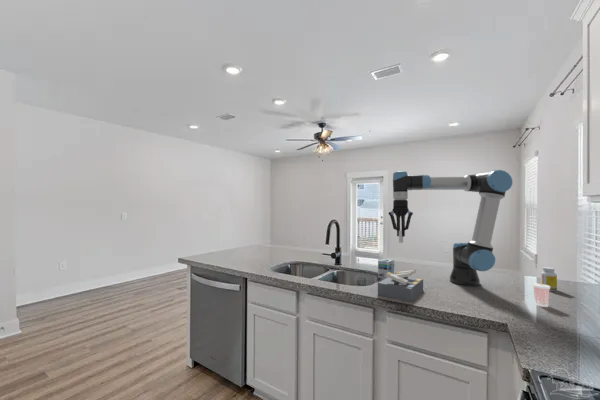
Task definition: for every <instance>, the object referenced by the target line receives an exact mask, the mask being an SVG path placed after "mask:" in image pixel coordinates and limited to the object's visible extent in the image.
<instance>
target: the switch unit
mask: <svg viewBox="0 0 600 400" xmlns="http://www.w3.org/2000/svg"><path fill="white" fill-rule="evenodd" d="M401 278H403V279H406V280H408V283H407V284H406V285H404V284H402V283H400V282H398V281H395V280H393V279H391V278H389V277H387V278H386V279H382V280H380V281H378V283H377V295H378V296H381V297H384V298H386V297H387V298H391V299H395V300H400V301H405V302H410V303H411V302H412V301H414V300H415V299H416V298H417V297H418V296H419V295H420V294H421V293H422V292H423V291H424V279H423V278H419V277H413V276H408V277H401Z"/></svg>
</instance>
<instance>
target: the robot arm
mask: <svg viewBox="0 0 600 400" xmlns="http://www.w3.org/2000/svg"><path fill="white" fill-rule="evenodd" d="M512 186H513V178H512V176H511V175H510V173H508V172H507V171H506V170H502V169H492V170H490V171H484V172H480V173H476V174H466V175H464V176H430V175H428V174H413V175H412V174H408V171H395V172H393V173H392V188H393V189H392V190H393V192H392V194H393V195H392V197H393V198H392V199H393V201H392V202H393V208H392V210H391V211H389V212H388V215H389V217H390V219H391V224H392V229H393V230H395V231H396V236H397V237H398V243H399V244H402V243H404V237H405V236H406V231H407V230H409V226H410V223H411V219H412V216H413V215H414V212H412V211H410V210H409V205H408V203H409V201H408V198H409V197H408V196H409V195H408V194H409V193H408V191H419V190H420V191H421V190H422V191H423V190H424V191H427V190H428V191H432V190H433V191H438V190H439V191H440V190H441V191H445V190H447V191H451V190H453V191H454V190H455V191H456V190H457V191H459V190H461V191H464V192H472V193H478V195H479V196H480V202H479V207H478V210H477V211H478V212H477V215H476V220H475V225H474V228H473V229H474V230H473V234H472V238H471V239H470V240H469V241H468V242H455V243H453V246H452V251H453V252H452V254H453V255H452V264H453V265H452V270H451V273H450V276H449V281H450V282H452V283H453V284H455V285H456V284H457V285H460V286H462V285H463V286H469V287H471V286H472V287H475V286H479V285H480V283H481V280H480V278H479V274H478V272H487V271H490V270H491V269H492V268H493V267H494V266H495V263H496V257H495V254H494V253H493V251H494V247H493V245H492V244H491V243H492V239H493V234H494V229H495V226H496V225H495V224H496V221H497V215H498V212H499V209H500V207H499V206H500V202H501V200H502V199H504V198H505V195H506V192H507V191H509V190H510V189H511V187H512ZM394 215H395V216H396V219H395V216H394ZM406 216H407V219H406ZM477 271H478V272H477Z"/></svg>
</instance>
